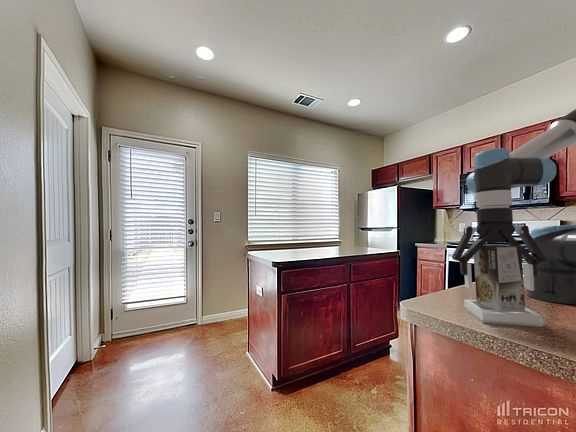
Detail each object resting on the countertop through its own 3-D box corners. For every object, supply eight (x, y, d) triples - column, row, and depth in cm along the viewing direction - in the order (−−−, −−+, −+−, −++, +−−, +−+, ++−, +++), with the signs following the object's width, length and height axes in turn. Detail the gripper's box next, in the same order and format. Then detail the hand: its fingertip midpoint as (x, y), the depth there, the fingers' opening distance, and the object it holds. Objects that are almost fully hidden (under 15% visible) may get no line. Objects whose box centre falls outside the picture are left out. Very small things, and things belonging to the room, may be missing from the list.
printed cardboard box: (527, 312, 65) (523, 246, 66) (500, 312, 65) (496, 246, 66) (498, 301, 74) (495, 243, 75) (475, 302, 74) (472, 244, 75)
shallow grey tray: (514, 311, 74) (514, 301, 74) (543, 327, 62) (542, 316, 62) (464, 308, 77) (464, 299, 77) (482, 322, 65) (482, 312, 65)
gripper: (541, 207, 71) (546, 287, 70) (437, 210, 78) (441, 283, 77) (561, 204, 64) (567, 294, 63) (445, 208, 70) (449, 289, 69)
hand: (498, 288), depth 70 cm, fingers open, 13 cm apart
